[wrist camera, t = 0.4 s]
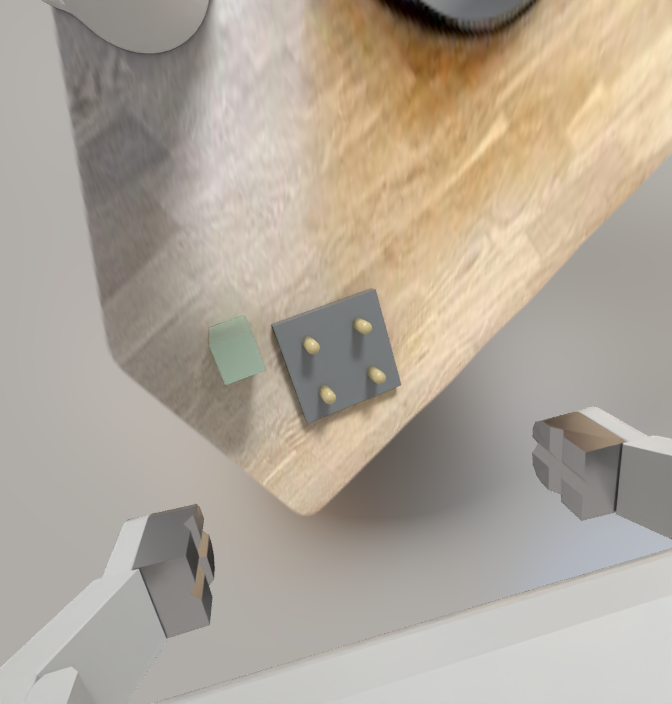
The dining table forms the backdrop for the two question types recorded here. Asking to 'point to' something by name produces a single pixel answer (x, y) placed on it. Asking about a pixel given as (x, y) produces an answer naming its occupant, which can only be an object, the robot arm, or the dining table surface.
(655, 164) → the dining table surface
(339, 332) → the plate
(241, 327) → the green block
